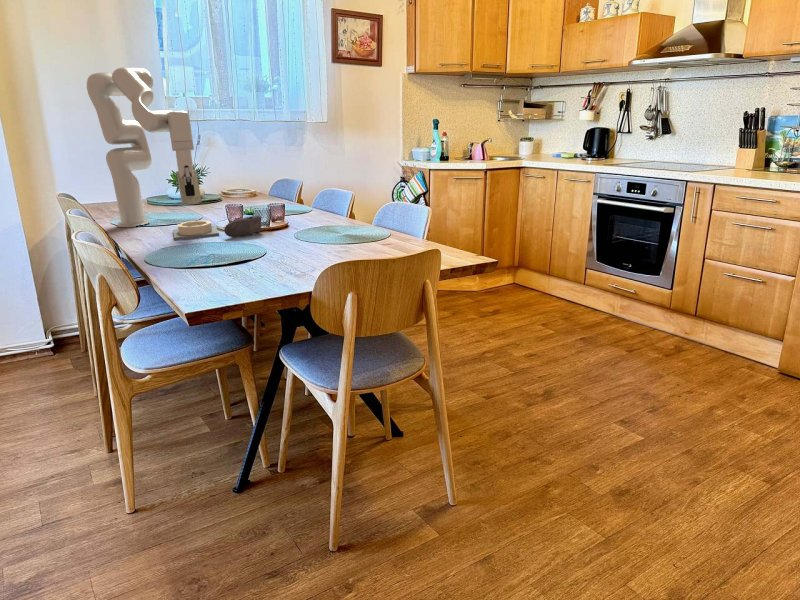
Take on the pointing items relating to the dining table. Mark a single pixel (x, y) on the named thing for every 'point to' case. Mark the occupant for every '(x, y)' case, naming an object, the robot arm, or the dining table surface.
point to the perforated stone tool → (244, 227)
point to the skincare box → (185, 198)
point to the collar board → (195, 230)
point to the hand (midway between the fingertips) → (190, 194)
